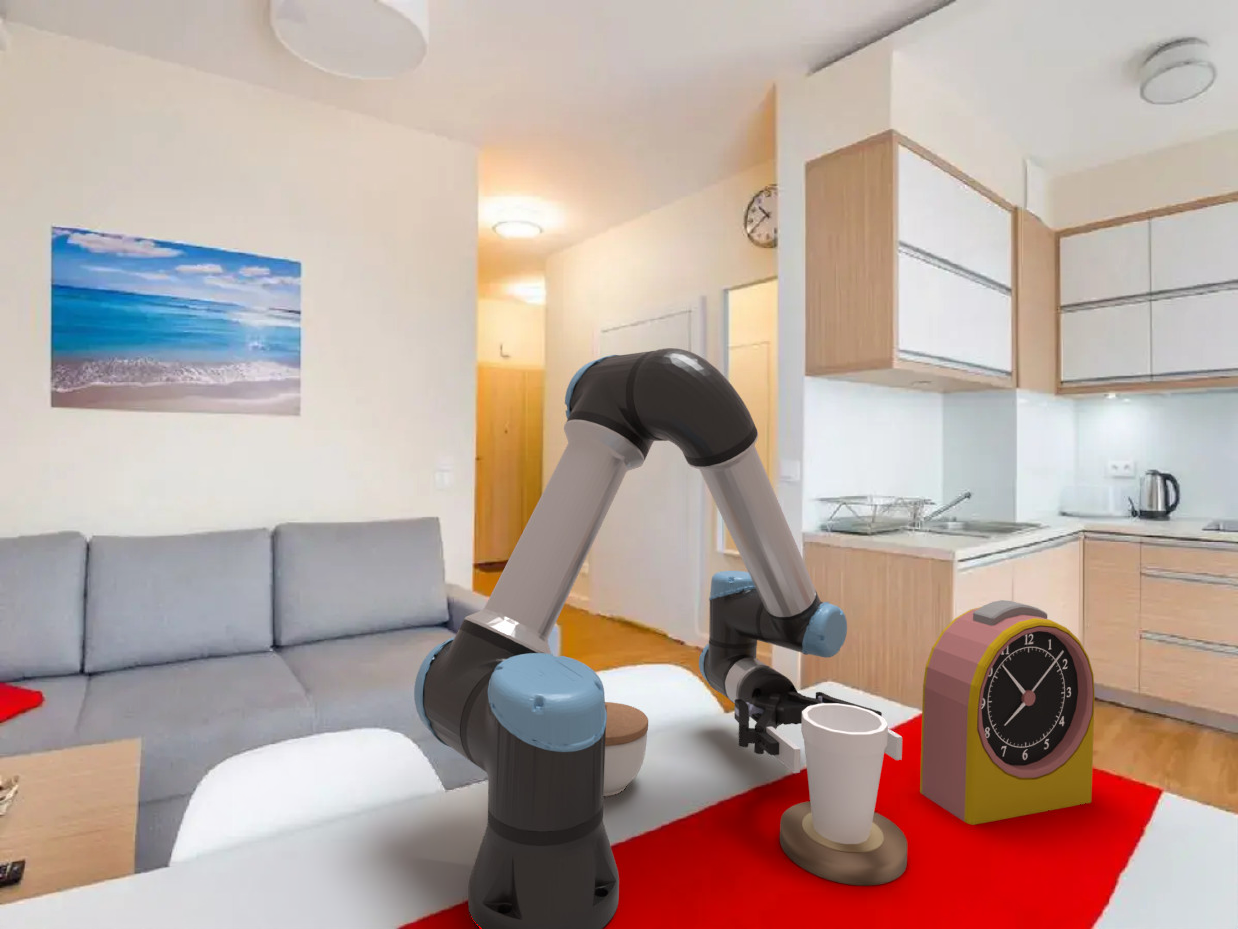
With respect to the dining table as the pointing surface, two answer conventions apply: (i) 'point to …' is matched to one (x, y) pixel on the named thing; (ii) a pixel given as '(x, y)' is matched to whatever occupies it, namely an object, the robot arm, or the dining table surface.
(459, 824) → the dining table surface
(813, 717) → the foam cup
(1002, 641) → the alarm clock
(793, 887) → the dining table surface
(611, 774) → the lidded bowl
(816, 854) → the walnut stand
